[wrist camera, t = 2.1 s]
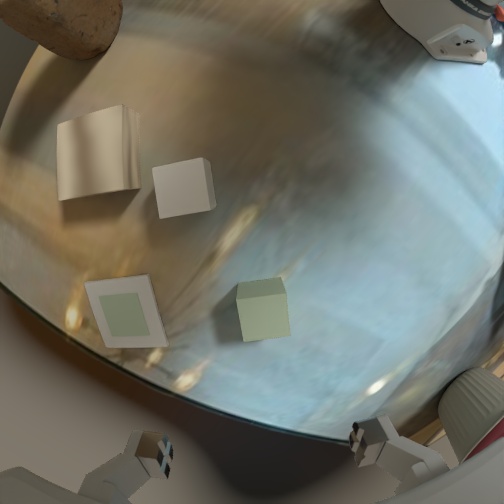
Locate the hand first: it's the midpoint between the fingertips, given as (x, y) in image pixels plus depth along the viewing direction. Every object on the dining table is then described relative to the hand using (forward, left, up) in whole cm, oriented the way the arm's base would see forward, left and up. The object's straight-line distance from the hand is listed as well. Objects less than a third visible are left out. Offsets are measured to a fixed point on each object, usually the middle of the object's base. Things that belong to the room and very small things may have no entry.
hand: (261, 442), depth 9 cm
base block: (+15, -17, -23) cm, 32 cm away
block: (+16, -37, -23) cm, 46 cm away
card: (+17, +3, -23) cm, 29 cm away
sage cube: (-1, +3, -23) cm, 23 cm away
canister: (-39, +32, -23) cm, 55 cm away
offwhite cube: (+5, -11, -23) cm, 26 cm away
